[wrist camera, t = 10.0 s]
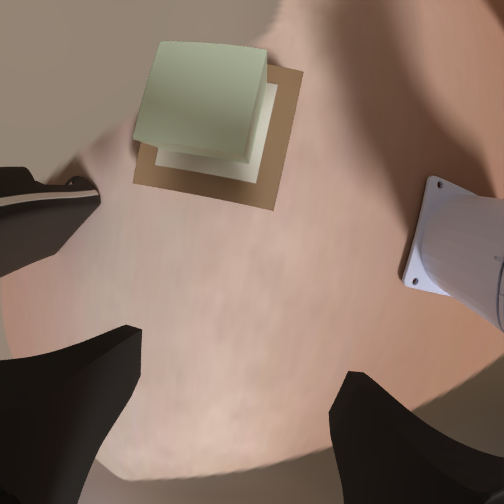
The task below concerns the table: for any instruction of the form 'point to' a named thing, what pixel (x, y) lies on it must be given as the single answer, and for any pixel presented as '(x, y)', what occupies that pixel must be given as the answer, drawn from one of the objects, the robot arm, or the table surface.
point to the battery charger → (39, 216)
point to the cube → (204, 99)
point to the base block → (229, 172)
